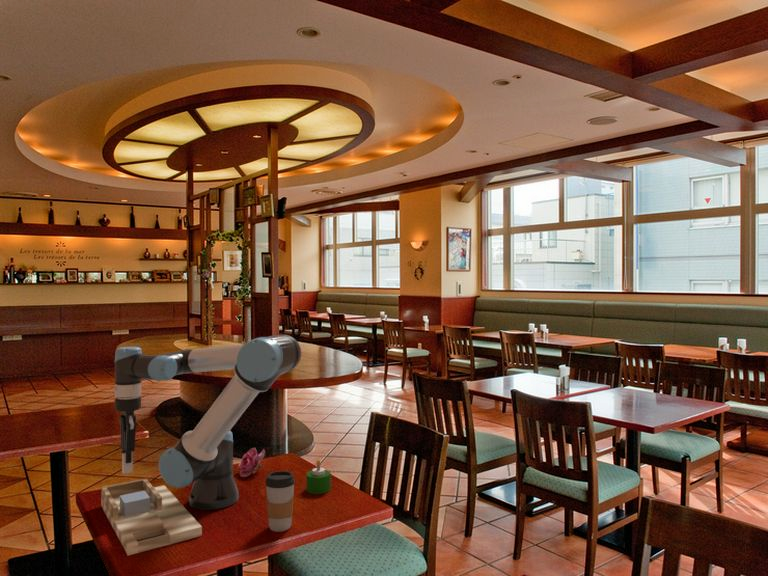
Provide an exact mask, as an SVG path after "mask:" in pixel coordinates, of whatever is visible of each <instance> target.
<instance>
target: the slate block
mask: <svg viewBox="0 0 768 576" xmlns="http://www.w3.org/2000/svg"><path fill="white" fill-rule="evenodd" d="M120 510H121V512H122V513H123V515H124V517H127V516H131V515H136V514H140V513H144V512H149V511H150V497H149V495H148V494H147V493H146V492H145V491H140V492H135V493H130V494H125V495H121V496H120Z"/></svg>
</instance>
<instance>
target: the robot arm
mask: <svg viewBox="0 0 768 576" xmlns="http://www.w3.org/2000/svg"><path fill="white" fill-rule="evenodd" d="M114 354H115V355H114V362H113V363H114V387H113V388H112V391H113V392H114V397H115V399H114V411H116V412H121V415H119V417H118V419H119V427H120V428H119V429H120V430H119V431H120V432H119V433H120V448H121V451H120V452H121V454H122V456H121V459H122V460H121V462H122V463H121V468H122V470H121V472H122V474H123V475H124V474H130V473H133V471H134V469H133V467H134V466H133V464H134V461H133V460H134V458H133V457H134V455H133V454H134V452H135V451H136V449H135V448H136V432H137V425H138V424H137V416H136V415H135V411H138V410H140V409H141V408H142V397H141V396H142V380H148V381H157V382H161V381H162V382H163V381H164V382H166V381H167V382H168V381H171V380H172V379H173V378H174V377H175V376H178V375H183V374H192V373H194V374H195V373H202V372H203V373H204V372H214V371H215V372H216V371H226V370H227V371H228V370H229V371H230V370H234V375H233V377H232V378H231V379H230V381H229V382H228V384H227V385H226V386H225V387H224V388H223V390H222V392H221V393H220V394H219V395H218V397H217V398H216V399H215V401H213V403H212V405H211V406H210V407H209V409H208V410H207V412H206V413H204V415H203V416H202V418H201V419H200V421H199V422H198V423H197V424H196V426H195V427H194V429H193V430H188V431H186V432H185V433H184V434H183V435H182V436H181V437H180V439H179V440H178V441H177V443H176V444H175V445H174V446H173V447H172V448H171V447H170V448H168V449H166V450H165V451H163V452H162V454H161V455H160V457H159V461H158V469H159V474H160V476H161V478H162V480H163V481H164V482H165V484H167V485H168V486H169V487H172V488H175V489H181V488H185V487H187V486H190V485H191V484H192V483H193V485H192V488H191V491H190V494H189V499H188V500H189V502H188V504H189V506H190V507H191V508H192V509H195V510H202V511H209V510H219V509H224V508H226V507H230V506H232V505H234V504H236V503H237V502H238V501H239V489H238V486H237V483H236V480H235V477H234V438H233V431H231V430H232V428H233V427H234V426H235V425H236V423H237V422H238V420H240V418H241V417H242V415H243V414H244V413H245V412H246V410H247V409H248V407H250V405H251V404H252V402H253V401H254V400H255V398H256V397H257V396H258V395H259V394H260V393H264V392H267V391H268V390H269V389H270V388H271V387H272V385H273V384H274V382H275V381H276V380H277V378H279V377H280V376H281V375H284V374H287V373H290V372H291V371H293V370H294V369H296V367H297V366H298V365H299V363H300V362H301V358H302V348H301V345H300V343H299V342H298V341H297V339H295V338H294V337H293V336H291V335H288V334H276V335H275V334H274V335H269V336H259V337H256V338H254V339H251V340H249V341H248V342H247V341H246V343H242V344H241V343H240V344H232V345H224V346H222V345H221V346H214V347H204V348H196V349H192V348H191V349H190V348H188V349H181V350H177V351H173V352H166V353H160V354H159V353H158V354H143V351H142V348H141V347H139V346H122V347H118V348H116V350H115V353H114Z"/></svg>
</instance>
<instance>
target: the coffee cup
mask: <svg viewBox="0 0 768 576" xmlns="http://www.w3.org/2000/svg"><path fill="white" fill-rule="evenodd" d="M295 482H296V481H295V477H294V474H293V472H292V471H288V470H277V471H271V472H270V473H268V474H267V476H266V479H265V486H266V487H265V488H266V506H267V518H268V520H267V521H268V527H269V529H270V531H272V532H278V533H279V532H284V531H287V530H289V529H290V528H291V526H292V521H293V519H292V518H293V511H294V510H293V508H294V498H295V497H294V495H295V493H294V490H295V488H294V487H295Z"/></svg>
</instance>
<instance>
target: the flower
mask: <svg viewBox="0 0 768 576" xmlns="http://www.w3.org/2000/svg"><path fill="white" fill-rule="evenodd" d="M265 456H266V450H265V448H263V449H262V450H261V452H260V453H259V454H258V451H257V449H256V447H252V448H250V449H249V450H248V451H247V452H246V453H245V454H243V456H242V458H241V460H240V463H238V466H237V467H238V468H239V469H241V470H240V471H239V476H240V477H241V478H245V477H246V478H247V477H250V475H252V474H255V473H256V471H257V470H259V469H263V470H265V471H266V469H264V468H263V466H262V464H261V461H262V459H263V458H265Z"/></svg>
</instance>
